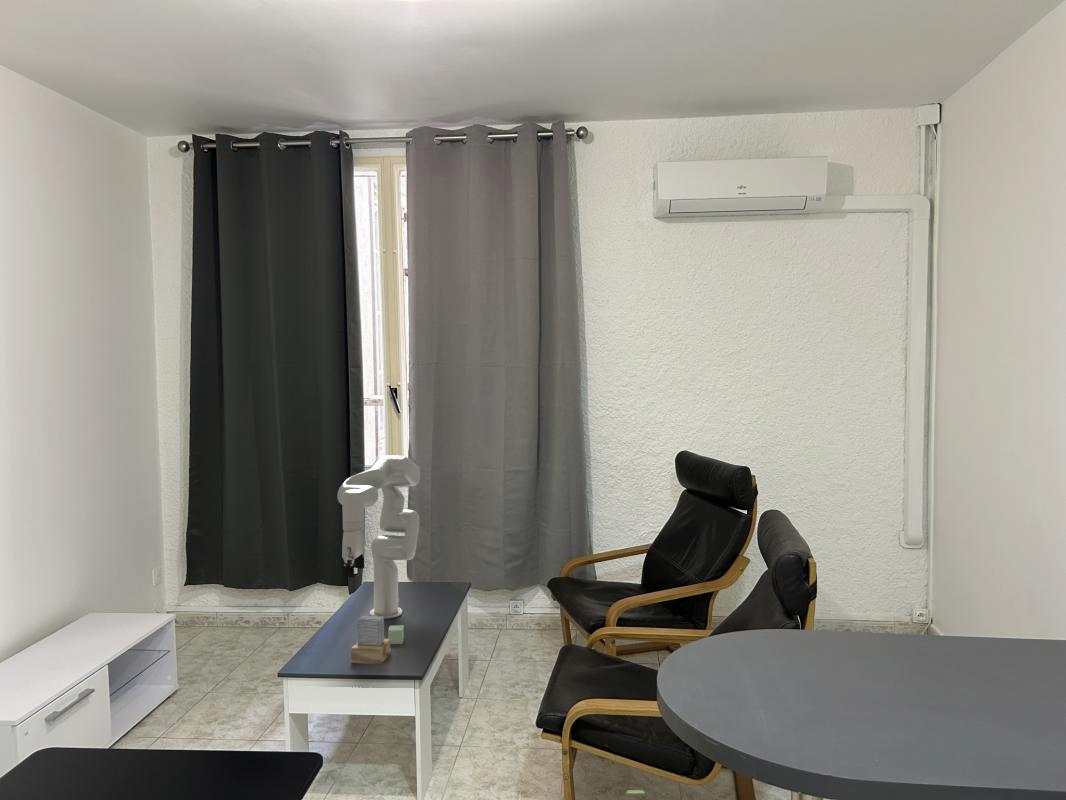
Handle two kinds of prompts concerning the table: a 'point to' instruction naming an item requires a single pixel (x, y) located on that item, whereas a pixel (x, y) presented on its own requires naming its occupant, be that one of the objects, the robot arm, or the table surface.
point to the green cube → (396, 634)
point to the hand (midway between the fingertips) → (354, 572)
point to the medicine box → (370, 630)
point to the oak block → (370, 653)
